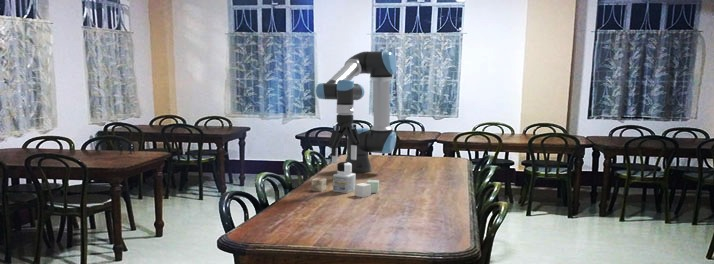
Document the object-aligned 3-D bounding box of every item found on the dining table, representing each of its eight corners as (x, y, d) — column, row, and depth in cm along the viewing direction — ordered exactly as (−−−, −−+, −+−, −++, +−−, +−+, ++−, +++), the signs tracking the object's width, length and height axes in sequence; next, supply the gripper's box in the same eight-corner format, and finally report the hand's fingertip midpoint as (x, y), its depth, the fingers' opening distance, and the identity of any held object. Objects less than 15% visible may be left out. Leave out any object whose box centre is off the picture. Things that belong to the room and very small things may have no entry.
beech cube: (311, 190, 238) (311, 179, 237) (316, 188, 242) (316, 177, 242) (321, 191, 236) (321, 180, 235) (326, 189, 240) (326, 178, 240)
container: (332, 191, 236) (332, 163, 235) (341, 188, 243) (341, 160, 241) (347, 193, 232) (347, 164, 231) (355, 190, 239) (356, 162, 238)
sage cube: (366, 192, 234) (366, 181, 234) (368, 190, 239) (368, 179, 239) (377, 193, 234) (378, 182, 233) (378, 190, 239) (379, 180, 238)
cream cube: (354, 195, 229) (354, 184, 228) (363, 193, 232) (363, 182, 232) (362, 197, 225) (362, 186, 225) (370, 195, 229) (371, 184, 228)
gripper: (333, 116, 222) (333, 165, 224) (368, 113, 241) (367, 158, 244) (320, 115, 226) (319, 163, 228) (355, 112, 246) (354, 157, 248)
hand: (344, 161), depth 236 cm, fingers open, 13 cm apart
